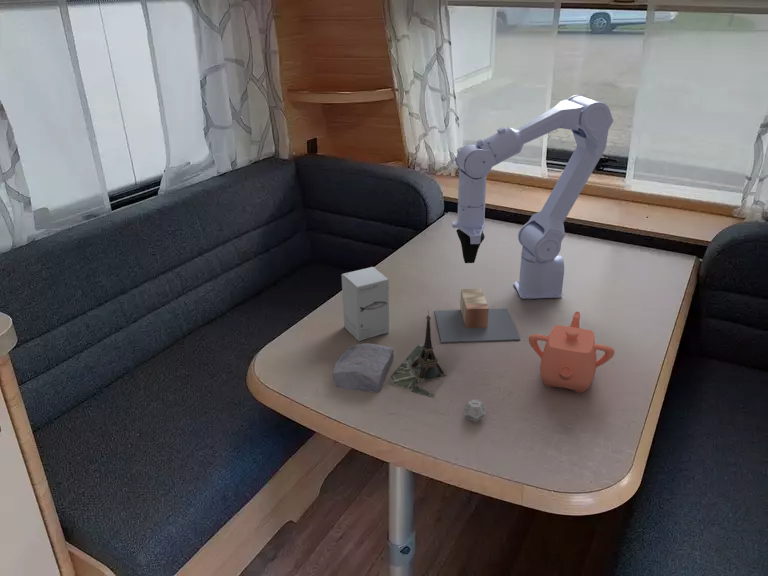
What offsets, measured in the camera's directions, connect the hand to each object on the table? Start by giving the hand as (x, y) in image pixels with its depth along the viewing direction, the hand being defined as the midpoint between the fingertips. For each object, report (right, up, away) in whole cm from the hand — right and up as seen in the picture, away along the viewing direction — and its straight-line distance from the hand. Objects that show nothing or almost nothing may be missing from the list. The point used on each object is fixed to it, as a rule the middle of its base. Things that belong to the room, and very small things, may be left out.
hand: (469, 261), depth 138 cm
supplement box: (-22, -15, -7) cm, 28 cm away
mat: (+1, -14, -6) cm, 15 cm away
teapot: (+15, -22, -24) cm, 36 cm away
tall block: (0, -8, -1) cm, 8 cm away
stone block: (-23, -22, -21) cm, 38 cm away
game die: (-4, -28, -33) cm, 43 cm away
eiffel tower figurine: (-11, -22, -20) cm, 31 cm away
